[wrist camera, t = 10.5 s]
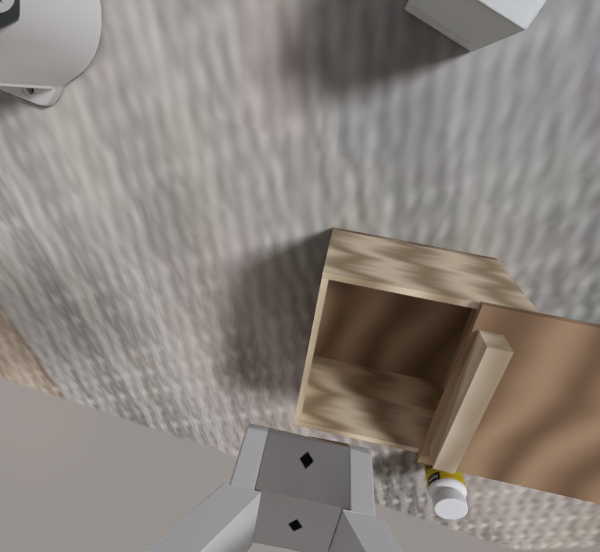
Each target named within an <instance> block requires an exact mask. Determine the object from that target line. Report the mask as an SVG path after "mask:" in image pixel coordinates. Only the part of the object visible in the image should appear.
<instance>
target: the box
mask: <svg viewBox="0 0 600 552" xmlns="http://www.w3.org/2000/svg"><path fill="white" fill-rule="evenodd" d="M481 301H482V302H487V303H492V304H497V305H502V306H507V307H512V308H517V309H522V310H527V311H532V312H537V313H539V312H538V311H537V309H536V308H535V307H534V306H533V304H532V303H531V302H530V301H529V299H528V298H527V297H526V296H525V294H524V293H523V292H522V291H521V289H520V288H519V287H518V286H517V284H516V283H515V282H514V280H513V279H512V278H511V277H510V275H509V274H508V273H507V272H506V270H505V269H504V268H503V267H502V265H501V264H500V263H499V262H498V260H497V259H496V258H491V257H486V256H480V255H475V254H470V253H465V252H459V251H454V250H449V249H444V248H438V247H433V246H428V245H422V244H417V243H412V242H407V241H401V240H396V239H391V238H386V237H380V236H375V235H370V234H365V233H359V232H354V231H349V230H343V229H338V228H333V230H332V234H331V239H330V243H329V248H328V252H327V256H326V261H325V265H324V269H323V274H322V279H321V285H320V290H319V295H318V300H317V305H316V310H315V316H314V321H313V326H312V331H311V336H310V341H309V347H308V352H307V357H306V362H305V367H304V373H303V378H302V383H301V388H300V393H299V398H298V404H297V409H296V414H295V419H294V424H293V425H297V426H302V427H306V428H311V429H315V430H319V431H324V432H328V433H333V434H337V435H341V436H346V437H350V438H355V439H359V440H364V441H368V442H372V443H377V444H381V445H386V446H390V447H394V448H399V449H403V450H408V451H412V452H416V453H418V452H419V450H420V448H421V445H422V443H423V440H424V438H425V435H426V433H427V431H428V428H429V426H430V423H431V421H432V418H433V416H434V414H435V411H436V409H437V406H438V404H439V401H440V399H441V397H442V394H443V392H444V389H445V387H446V384H447V382H448V379H449V377H450V375H451V372H452V370H453V367H454V365H455V362H456V360H457V358H458V355H459V353H460V350H461V348H462V345H463V343H464V341H465V338H466V336H467V333H468V331H469V328H470V326H471V324H472V321H473V319H474V316H475V314H476V311H477V309H478V307H479V304H480V302H481Z"/></svg>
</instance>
